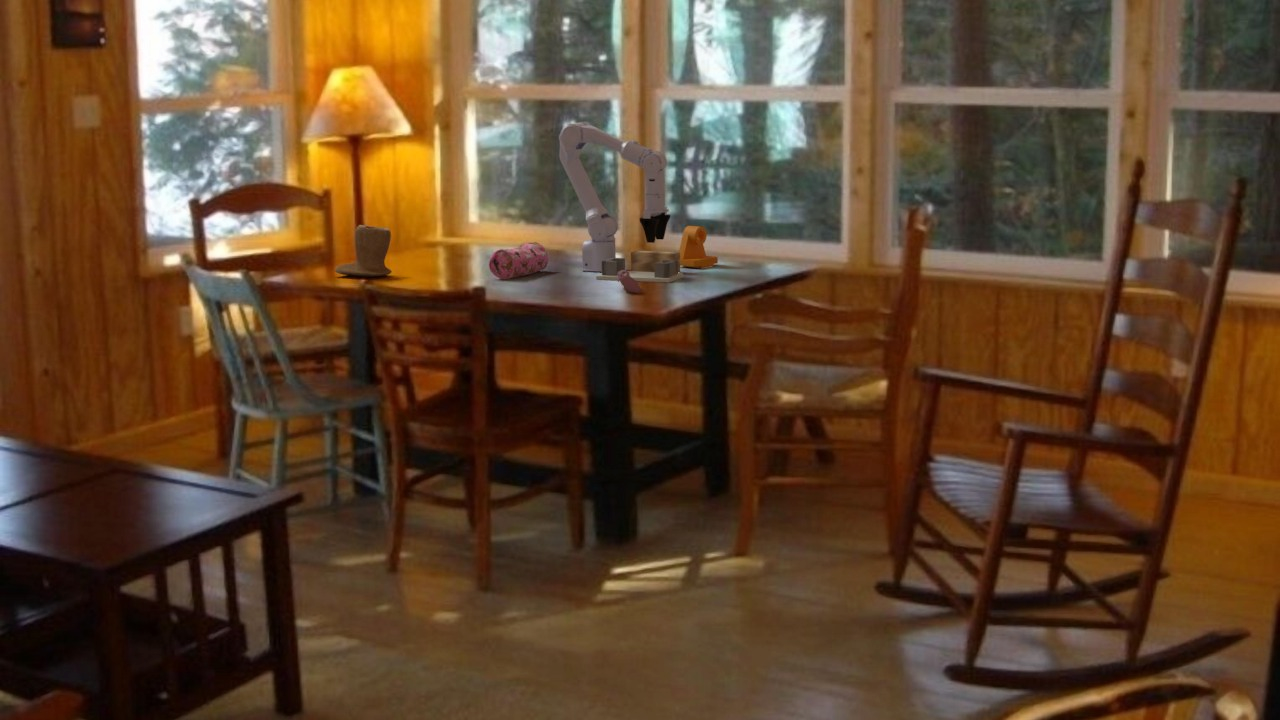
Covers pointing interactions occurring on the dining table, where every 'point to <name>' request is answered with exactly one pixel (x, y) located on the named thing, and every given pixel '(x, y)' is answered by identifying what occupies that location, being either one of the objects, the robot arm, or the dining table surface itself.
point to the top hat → (368, 253)
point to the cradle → (662, 272)
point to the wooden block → (651, 260)
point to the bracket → (695, 249)
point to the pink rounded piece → (628, 282)
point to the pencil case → (518, 261)
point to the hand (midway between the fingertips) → (655, 240)
